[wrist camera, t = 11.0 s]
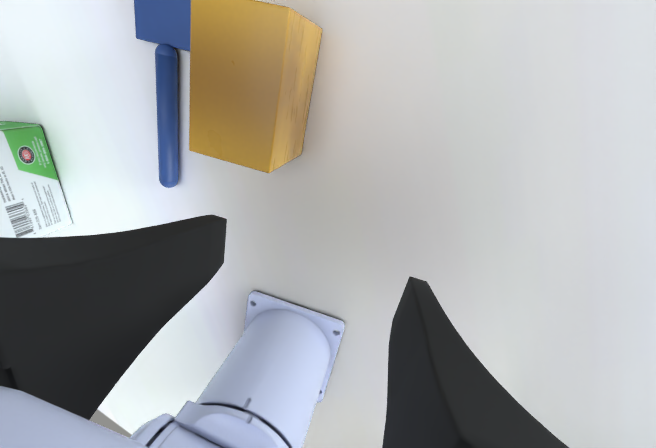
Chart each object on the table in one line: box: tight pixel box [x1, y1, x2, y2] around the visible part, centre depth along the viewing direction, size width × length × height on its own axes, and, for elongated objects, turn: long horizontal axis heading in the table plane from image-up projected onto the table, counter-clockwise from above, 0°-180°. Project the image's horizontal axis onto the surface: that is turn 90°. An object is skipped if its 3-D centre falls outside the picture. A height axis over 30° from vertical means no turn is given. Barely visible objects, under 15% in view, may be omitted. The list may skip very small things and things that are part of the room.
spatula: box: [134, 0, 191, 188], centre depth 20 cm, size 15×4×1 cm, turn 168°
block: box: [189, 0, 322, 173], centre depth 17 cm, size 7×4×5 cm, turn 168°
